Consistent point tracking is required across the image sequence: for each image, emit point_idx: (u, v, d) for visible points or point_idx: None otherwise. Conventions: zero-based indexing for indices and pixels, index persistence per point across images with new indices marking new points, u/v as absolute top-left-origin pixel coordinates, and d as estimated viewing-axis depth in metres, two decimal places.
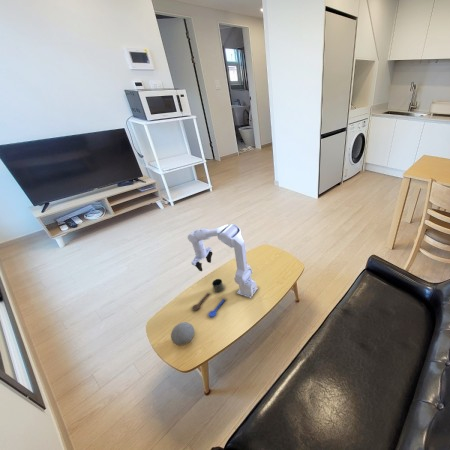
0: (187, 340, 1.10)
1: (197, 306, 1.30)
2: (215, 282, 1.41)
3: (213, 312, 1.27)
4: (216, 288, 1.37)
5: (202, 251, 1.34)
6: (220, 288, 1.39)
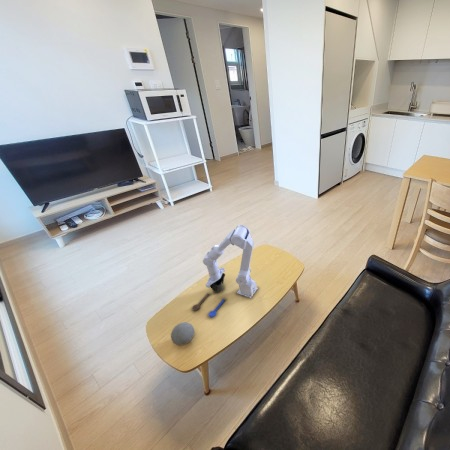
0: (187, 340, 1.10)
1: (197, 306, 1.30)
2: (215, 282, 1.41)
3: (213, 312, 1.27)
4: None
5: (216, 273, 1.32)
6: (220, 288, 1.39)
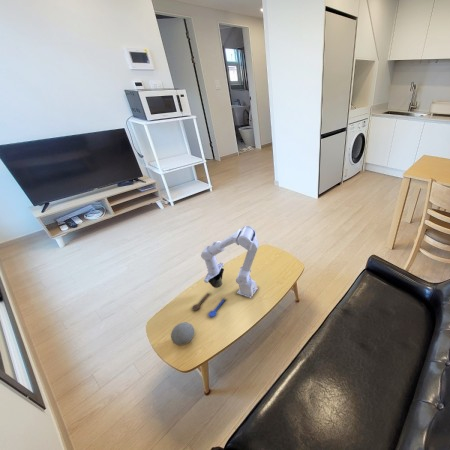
0: (187, 340, 1.10)
1: (197, 306, 1.30)
2: (214, 277, 1.38)
3: (213, 312, 1.27)
4: (215, 283, 1.35)
5: (215, 268, 1.30)
6: (219, 283, 1.36)
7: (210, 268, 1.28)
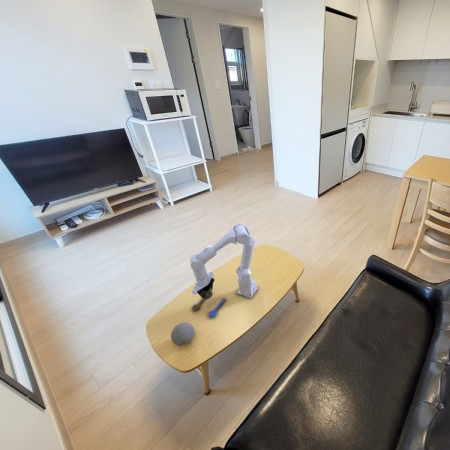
0: (187, 340, 1.10)
1: (197, 306, 1.30)
2: (203, 288, 1.28)
3: (213, 312, 1.27)
4: None
5: (204, 278, 1.19)
6: (209, 294, 1.26)
7: (202, 278, 1.19)
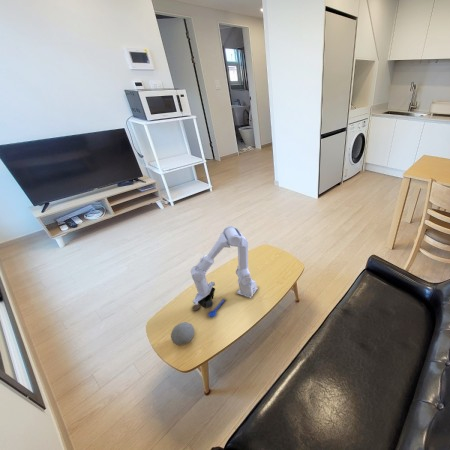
0: (187, 340, 1.10)
1: (197, 306, 1.30)
2: (204, 297, 1.30)
3: (213, 312, 1.27)
4: (205, 304, 1.27)
5: (205, 288, 1.21)
6: (209, 304, 1.28)
7: (203, 288, 1.20)
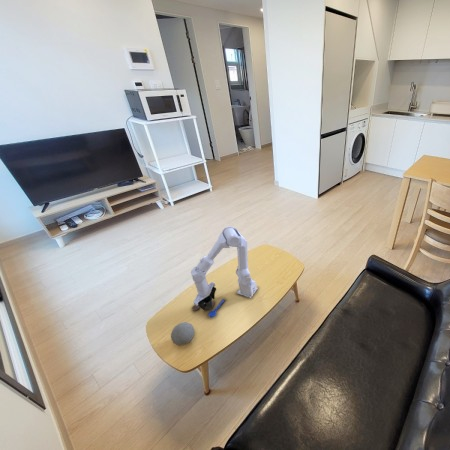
0: (187, 340, 1.10)
1: (197, 306, 1.30)
2: (204, 299, 1.31)
3: (213, 312, 1.27)
4: (205, 306, 1.27)
5: (205, 289, 1.21)
6: (210, 305, 1.29)
7: (203, 289, 1.21)
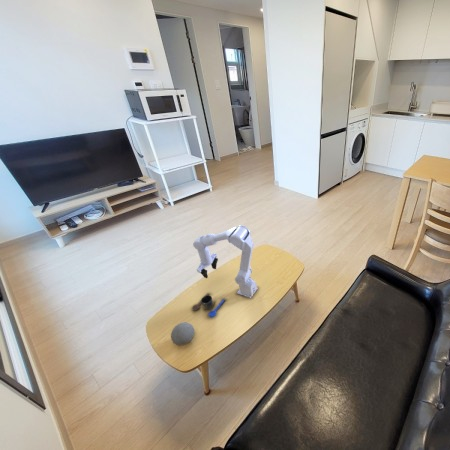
0: (187, 340, 1.10)
1: (197, 306, 1.30)
2: (204, 299, 1.31)
3: (213, 312, 1.27)
4: (205, 306, 1.27)
5: (208, 258, 1.31)
6: (210, 305, 1.29)
7: (202, 258, 1.29)
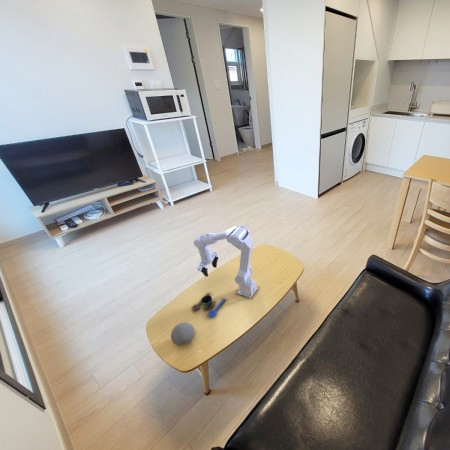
0: (187, 340, 1.10)
1: (197, 306, 1.30)
2: (204, 299, 1.31)
3: (213, 312, 1.27)
4: (205, 306, 1.27)
5: (208, 256, 1.32)
6: (210, 305, 1.29)
7: (202, 256, 1.30)
